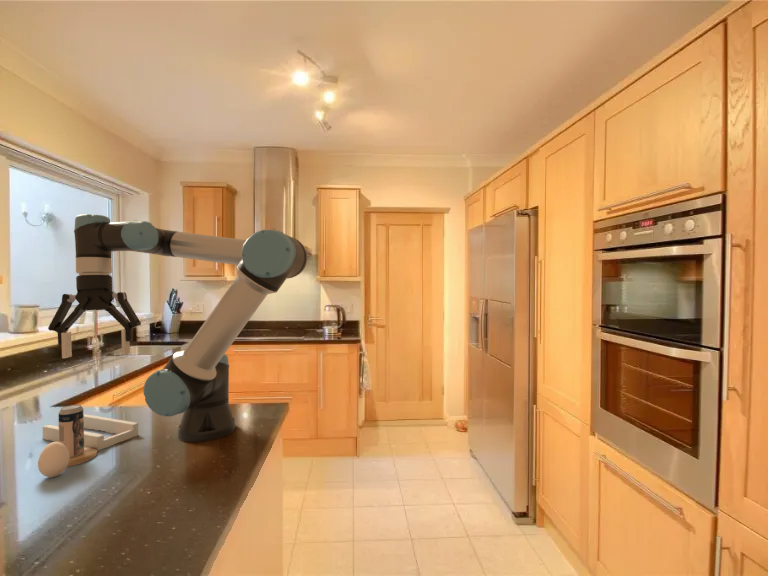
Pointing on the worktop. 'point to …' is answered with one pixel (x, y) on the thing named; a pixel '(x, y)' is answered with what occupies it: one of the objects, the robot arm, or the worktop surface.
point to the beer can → (72, 429)
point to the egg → (53, 459)
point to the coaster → (83, 456)
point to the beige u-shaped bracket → (94, 440)
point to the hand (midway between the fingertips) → (96, 355)
